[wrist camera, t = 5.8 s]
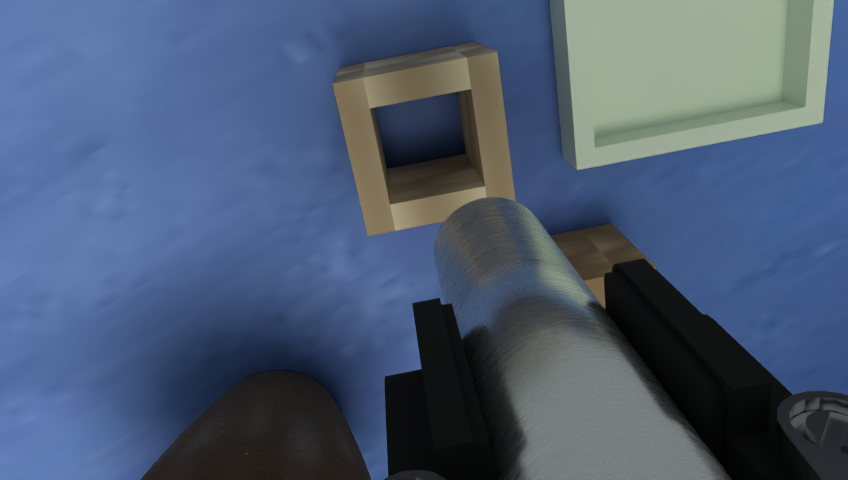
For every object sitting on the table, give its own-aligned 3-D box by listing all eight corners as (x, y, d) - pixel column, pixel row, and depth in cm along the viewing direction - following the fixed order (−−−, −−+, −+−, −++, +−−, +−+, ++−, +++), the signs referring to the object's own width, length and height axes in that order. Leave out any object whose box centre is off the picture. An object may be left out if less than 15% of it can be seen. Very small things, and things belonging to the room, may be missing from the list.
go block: (474, 41, 30) (497, 51, 24) (492, 171, 33) (516, 207, 27) (340, 67, 30) (332, 83, 24) (369, 195, 33) (367, 236, 27)
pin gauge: (539, 187, 15) (803, 487, 6) (549, 288, 16) (783, 670, 7) (425, 209, 15) (513, 545, 6) (443, 309, 16) (540, 718, 7)
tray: (810, -159, 28) (849, -173, 25) (791, 113, 33) (822, 122, 31) (540, -107, 28) (555, -117, 25) (562, 157, 33) (577, 170, 30)
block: (610, 223, 35) (655, 266, 29) (615, 310, 37) (658, 366, 31) (510, 242, 34) (536, 289, 29) (521, 329, 37) (547, 388, 31)
